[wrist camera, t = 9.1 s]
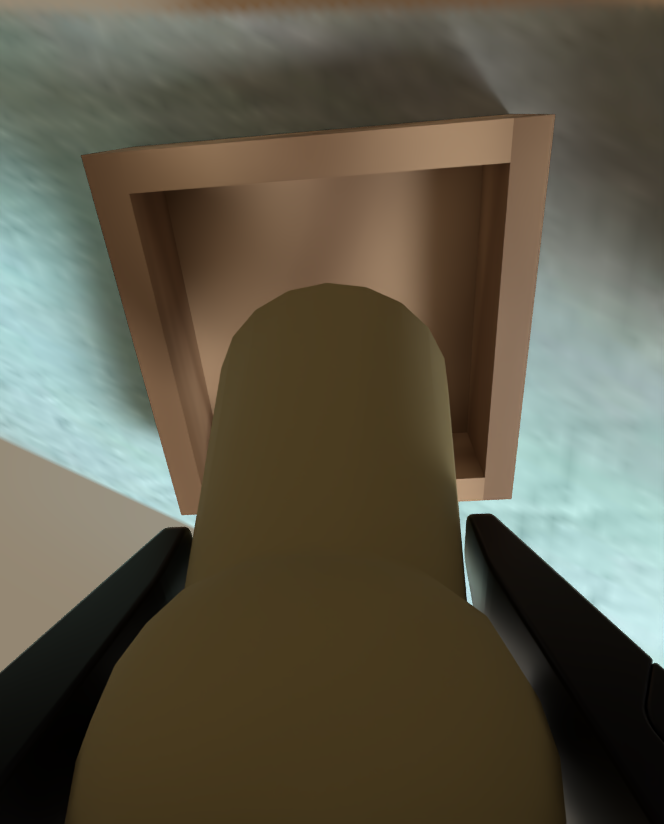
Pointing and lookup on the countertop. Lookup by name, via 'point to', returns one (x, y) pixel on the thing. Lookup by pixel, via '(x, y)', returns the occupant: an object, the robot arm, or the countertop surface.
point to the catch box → (333, 260)
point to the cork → (323, 607)
